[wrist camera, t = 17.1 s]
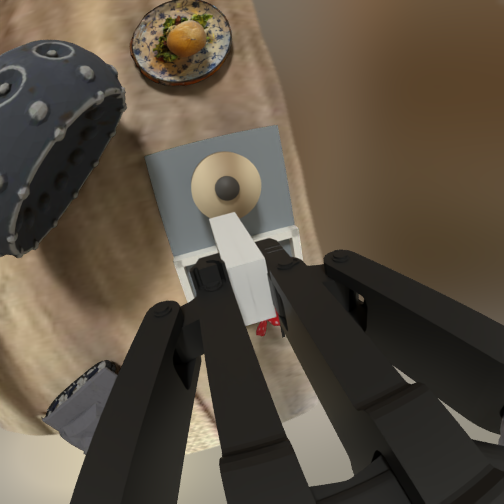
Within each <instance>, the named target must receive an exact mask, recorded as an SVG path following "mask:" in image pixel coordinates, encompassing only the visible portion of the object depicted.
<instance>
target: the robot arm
mask: <svg viewBox="0 0 504 504" xmlns="http://www.w3.org/2000/svg"><path fill="white" fill-rule="evenodd" d="M209 221H210V225H211V228H212V232H213V236H214V240H215V243H216V247H217V251H218V253H216V254H212V255H209V256H205V257H202V258H199V259H198V261H197V262H196V264H195V265H194V266H193V267H192V268H191V269H190V275H191V278H192V281H193V284H194V287H195V290H196V297H195V298H194V299H193V300H191V301H190V302H188V303H187V304H185V305H183V306H181V307H180V305H179V304H178V303H177V302H175V301H164V302H159V303H157V304H155V305H154V306H153V307H151V308H150V309H149V310H148V312H147V313H146V315H145V317H144V319H143V321H142V323H141V325H140V327H139V329H138V332H137V334H136V336H135V338H134V340H133V342H132V344H131V347H130V349H129V351H128V353H127V355H126V358H125V360H124V362H123V364H122V367H121V369H120V371H119V373H118V376H117V378H116V380H115V383H114V385H113V387H112V390H111V392H110V395H109V397H108V399H107V402H106V404H105V407H104V409H103V412H102V414H101V417H100V419H99V422H98V424H97V427H96V429H95V432H94V435H93V437H92V440H91V443H90V445H89V448H88V451H87V454H86V456H85V459H84V462H83V465H82V468H81V471H80V474H79V477H78V480H77V483H76V486H75V489H74V492H73V495H72V498H71V502H70V504H177V500H178V493H179V487H180V479H181V474H182V468H183V462H184V455H185V449H186V444H187V438H188V432H189V426H190V420H191V415H192V409H193V404H194V398H195V393H196V387H197V382H198V377H199V371H200V366H201V355H203V354H204V355H205V361H206V368H207V374H208V380H209V386H210V392H211V397H212V403H213V409H214V414H215V419H216V425H217V430H218V435H219V440H220V445H221V449H222V457H221V458H220V461H219V466H220V473H221V477H222V482H223V487H224V491H225V496H226V500H227V504H504V326H503V325H502V324H500V323H498V322H496V321H494V320H492V319H490V318H488V317H487V316H485V315H483V314H481V313H479V312H477V311H475V310H473V309H471V308H469V307H467V306H465V305H463V304H461V303H459V302H457V301H455V300H453V299H451V298H450V297H447V296H446V295H443V294H441V293H439V292H437V291H435V290H433V289H431V288H429V287H427V286H425V285H423V284H421V283H419V282H417V281H415V280H413V279H411V278H409V277H406V276H404V275H402V274H400V273H398V272H396V271H394V270H392V269H389V268H387V267H385V266H383V265H381V264H379V263H377V262H374V261H372V260H370V259H368V258H366V257H363V256H361V255H359V254H357V253H355V252H352V251H349V250H335V251H333V252H330V253H328V254H327V255H325V257H324V258H323V259H324V264H322V265H313V266H307V265H306V264H305V263H304V262H303V261H302V260H301V259H299V258H296V257H290V255H289V254H288V253H287V252H286V251H285V250H284V249H283V247H282V246H281V245H280V244H279V243H278V241H277V240H274V239H271V238H267V239H263V240H260V241H256V242H254V241H253V239H252V238H251V236H250V235H249V233H248V232H247V230H246V229H245V227H244V225H243V224H242V222H241V221H240V219H239V218H238V216H237V215H236V213H235V212H233V213H229V214H225V215H221V216H218V217H214V218H210V219H209ZM359 294H360V295H361V296H363V298H364V302H362V301H360V300H359ZM275 309H276V311H277V312H278V316H279V322H280V327H281V332H282V338H283V337H285V335H286V336H287V338H288V340H289V342H290V344H291V346H292V348H293V350H294V352H295V354H296V356H297V358H298V360H299V362H300V364H301V366H302V368H303V370H304V371H305V373H306V375H307V377H308V379H309V381H310V383H311V385H312V387H313V389H314V391H315V393H316V395H317V397H318V398H319V400H320V402H321V404H322V406H323V408H324V410H325V412H326V414H327V416H328V418H329V419H330V421H331V423H332V425H333V427H334V429H335V431H336V433H337V435H338V437H339V439H340V441H341V442H342V444H343V446H344V448H345V450H346V452H347V454H348V456H349V459H350V461H351V466H352V470H353V473H354V477H352V478H351V479H349V480H347V481H343V482H338V483H332V484H325V485H319V486H311V487H309V486H308V483H307V481H306V479H305V477H304V474H303V472H302V469H301V467H300V464H299V462H298V459H297V457H296V454H295V452H294V449H293V447H292V445H291V443H290V441H289V439H288V438H287V436H286V434H285V431H284V428H283V426H282V423H281V421H280V418H279V416H278V413H277V410H276V408H275V405H274V402H273V400H272V397H271V395H270V392H269V389H268V387H267V384H266V381H265V379H264V376H263V373H262V370H261V368H260V365H259V362H258V359H257V357H256V354H255V351H254V348H253V346H252V343H251V340H250V337H249V335H248V332H247V329H246V326H247V325H251V324H254V323H257V322H261V321H264V320H267V319H270V318H274V317H276V312H275ZM393 366H395V367H396V368H398V369H399V370H400V371H401V372H403V373H404V374H406V375H407V376H408V377H410V378H411V379H413V380H414V381H415V382H417V383H414V384H409V383H407V382H406V381H405V380H404V379H403V378H402V377H401V375H400V374H399V373H398V372H397V370H396V369H395V368H394V367H393ZM438 398H439V399H440V400H441V401H443V402H444V403H445V404H447V405H448V406H450V407H451V408H452V409H454V410H455V411H456V412H458V413H459V414H461V415H462V416H463V417H465V418H466V419H468V420H469V421H471V422H472V423H474V424H476V425H477V426H479V427H481V428H484V429H486V430H488V431H490V432H493V433H496V434H500V435H501V437H500V438H499V445H496V444H491V443H487V442H482V441H477V440H473V439H471V438H470V437H469V436H468V434H467V433H466V432H465V431H464V430H463V428H462V427H461V426H460V425H459V423H458V422H457V421H456V420H455V418H454V417H453V416H452V415H451V414H450V412H449V411H448V410H447V409H446V408H445V406H444V405H443V404H442V403H441V402H440V401H439V399H438Z"/></svg>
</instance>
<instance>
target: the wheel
mask: <svg viewBox="0 0 504 504" xmlns="http://www.w3.org/2000/svg"><path fill="white" fill-rule="evenodd" d="M191 192H192V197H193V200H194V202H195V204H196V206H197V207H198V209H199V210H200V211H201V212H202V213H203V214H204V215H206V216H207V217H209V218H214V217H218V216H221V215H225V214H229V213H233V212H235V213H236V215H237V216H238V218H239V219H240V218H242V217H244V216H245V215H247V214H248V213H249V212H250V211H251V210H252V209H253V208H254V207H255V205H256V204H257V202H258V200H259V197H260V193H261V179H260V175H259V173H258V171H257V169H256V167H255V166H254V165H253V164H252V163H251V162H250V161H249V160H248V159H247V158H245V157H243V156H241V155H239V154H236V153H233V152H227V151H221V152H216V153H213V154H210V155H208V156H207V157H205V158H204V159H203V160H201V162H200V163H199V164H198V165H197V166H196V168H195V170H194V172H193V175H192V179H191Z"/></svg>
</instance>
